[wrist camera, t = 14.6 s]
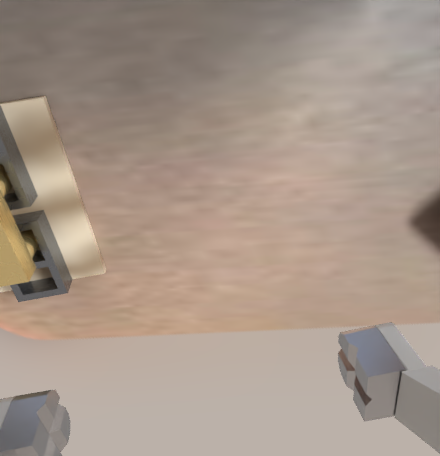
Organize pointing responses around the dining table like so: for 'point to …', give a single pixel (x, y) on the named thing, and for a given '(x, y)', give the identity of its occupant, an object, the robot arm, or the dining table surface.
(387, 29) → the dining table surface
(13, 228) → the tan bar
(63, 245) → the chain board
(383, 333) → the robot arm
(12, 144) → the chain ends
